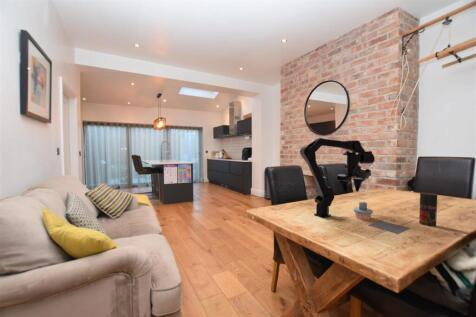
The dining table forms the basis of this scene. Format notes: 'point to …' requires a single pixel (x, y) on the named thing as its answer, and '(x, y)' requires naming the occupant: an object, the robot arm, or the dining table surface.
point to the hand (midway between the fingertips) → (352, 192)
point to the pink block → (362, 216)
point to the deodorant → (428, 209)
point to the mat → (389, 227)
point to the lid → (363, 209)
